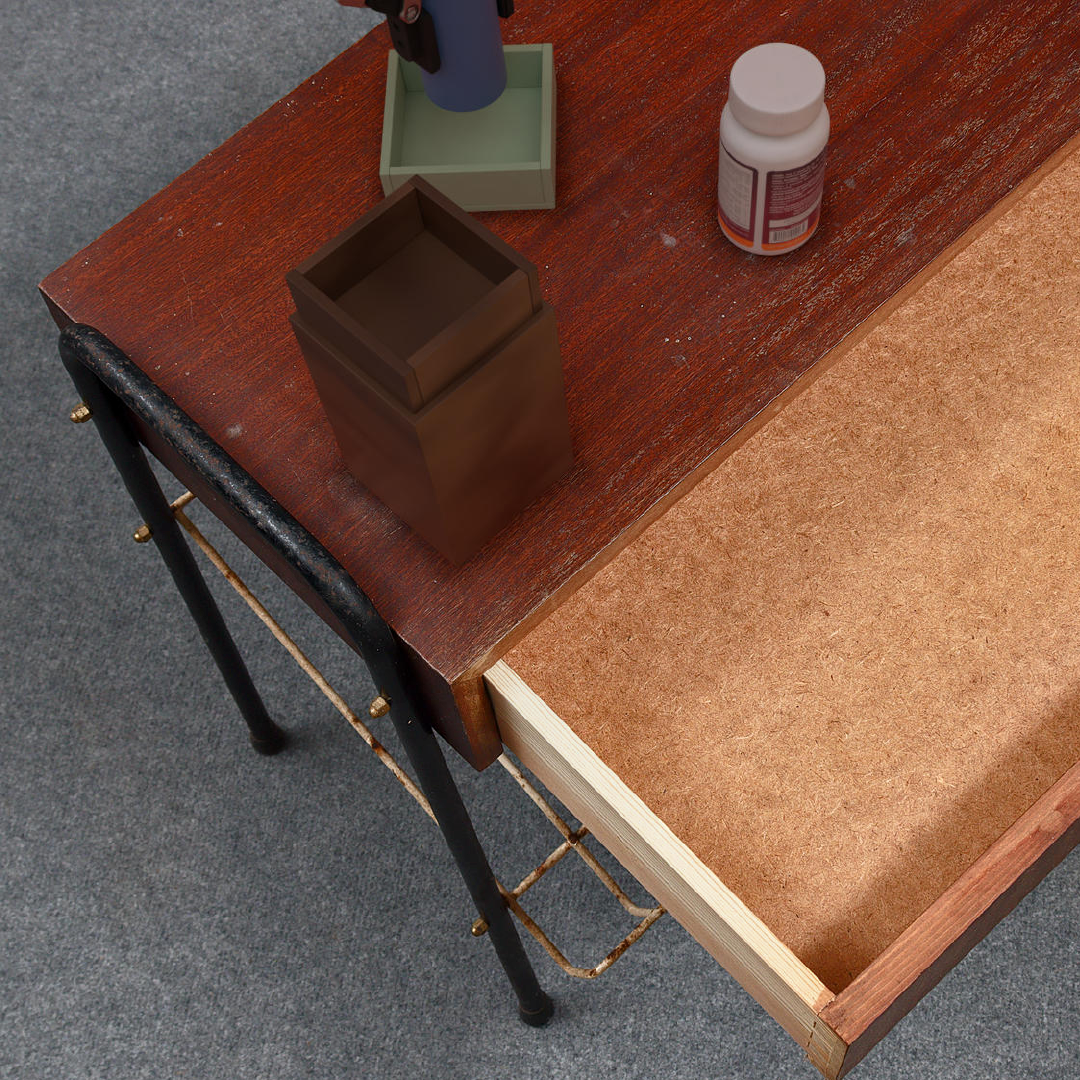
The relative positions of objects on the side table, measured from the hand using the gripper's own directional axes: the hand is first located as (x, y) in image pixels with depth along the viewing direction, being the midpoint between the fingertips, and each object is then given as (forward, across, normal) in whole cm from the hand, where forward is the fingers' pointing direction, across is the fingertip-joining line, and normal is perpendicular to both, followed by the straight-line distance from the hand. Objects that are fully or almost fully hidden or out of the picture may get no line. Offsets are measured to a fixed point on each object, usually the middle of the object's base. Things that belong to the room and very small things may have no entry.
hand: (455, 30), depth 83 cm
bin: (+9, 0, 0) cm, 9 cm away
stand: (+9, +17, +17) cm, 25 cm away
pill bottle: (+10, -8, +17) cm, 21 cm away
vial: (+4, 0, 0) cm, 4 cm away
